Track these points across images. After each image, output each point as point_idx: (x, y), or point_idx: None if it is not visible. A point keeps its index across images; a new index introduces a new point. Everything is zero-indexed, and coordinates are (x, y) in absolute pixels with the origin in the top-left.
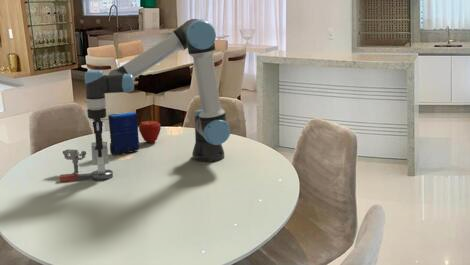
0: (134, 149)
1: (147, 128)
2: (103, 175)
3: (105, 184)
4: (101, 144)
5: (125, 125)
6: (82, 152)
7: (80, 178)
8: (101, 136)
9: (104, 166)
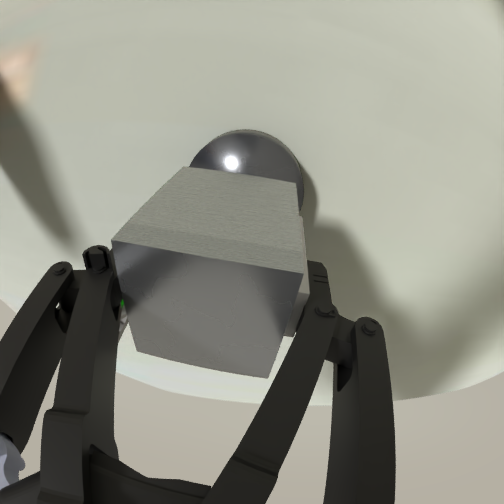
0: None
1: None
2: (299, 194)
3: (368, 192)
4: (383, 362)
5: None
6: (121, 315)
7: None
8: (394, 444)
9: None
